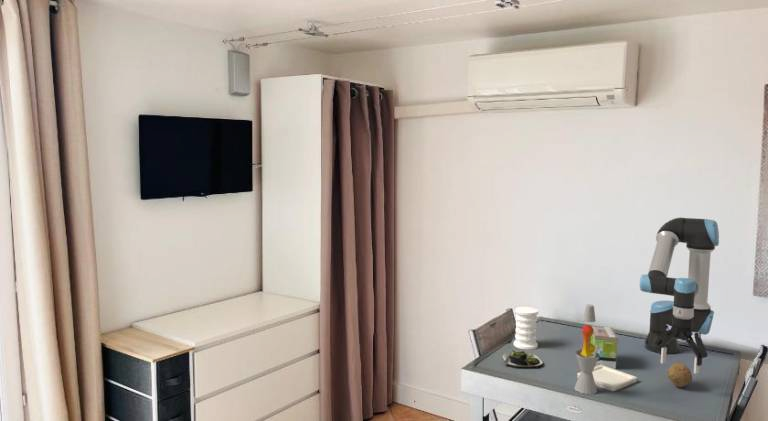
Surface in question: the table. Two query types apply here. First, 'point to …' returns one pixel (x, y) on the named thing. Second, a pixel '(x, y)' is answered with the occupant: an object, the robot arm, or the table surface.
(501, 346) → the table surface
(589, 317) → the lava lamp
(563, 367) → the table surface
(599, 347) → the tea box
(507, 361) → the salad plate
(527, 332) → the decorative container
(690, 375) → the natural sponge
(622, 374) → the tray
